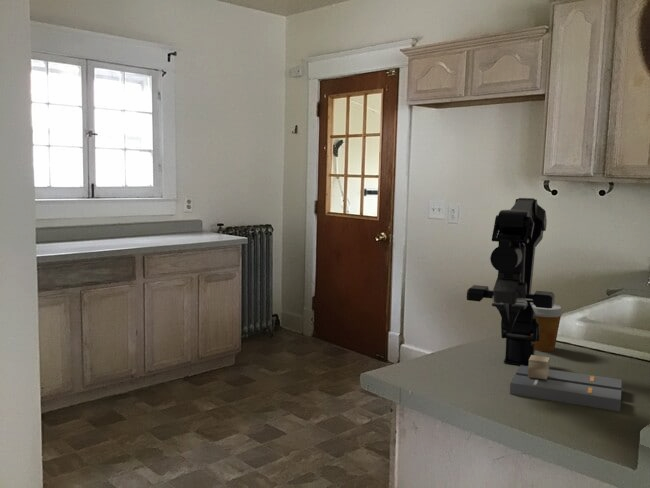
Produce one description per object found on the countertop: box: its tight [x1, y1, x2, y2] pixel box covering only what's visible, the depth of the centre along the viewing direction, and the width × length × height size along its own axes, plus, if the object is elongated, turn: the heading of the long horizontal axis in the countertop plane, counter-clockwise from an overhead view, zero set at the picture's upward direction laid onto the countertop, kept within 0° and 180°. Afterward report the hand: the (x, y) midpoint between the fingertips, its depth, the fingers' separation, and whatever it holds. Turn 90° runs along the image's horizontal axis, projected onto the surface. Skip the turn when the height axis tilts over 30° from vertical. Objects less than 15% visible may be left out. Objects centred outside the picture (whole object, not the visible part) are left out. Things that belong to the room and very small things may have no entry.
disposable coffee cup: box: [530, 302, 564, 352], centre depth 170 cm, size 10×10×12 cm
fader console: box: [509, 365, 623, 412], centre depth 137 cm, size 22×14×3 cm, turn 64°
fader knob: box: [528, 354, 550, 380], centre depth 139 cm, size 4×4×6 cm
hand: (508, 333), depth 141 cm, fingers closed
